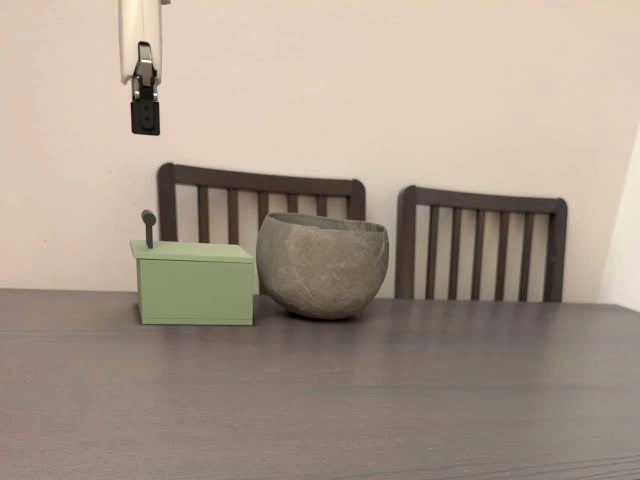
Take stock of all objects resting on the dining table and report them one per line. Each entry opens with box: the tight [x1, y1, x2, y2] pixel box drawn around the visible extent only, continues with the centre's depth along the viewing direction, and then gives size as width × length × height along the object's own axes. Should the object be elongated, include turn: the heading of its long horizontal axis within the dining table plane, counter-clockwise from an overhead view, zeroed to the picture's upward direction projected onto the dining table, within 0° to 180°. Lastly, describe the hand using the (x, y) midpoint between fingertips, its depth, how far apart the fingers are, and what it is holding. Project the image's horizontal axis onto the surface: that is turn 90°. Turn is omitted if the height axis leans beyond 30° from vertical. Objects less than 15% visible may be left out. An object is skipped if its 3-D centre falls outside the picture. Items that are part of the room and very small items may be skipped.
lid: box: [129, 209, 255, 264], centre depth 106 cm, size 16×14×6 cm
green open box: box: [135, 258, 255, 326], centre depth 109 cm, size 16×14×9 cm
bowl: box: [255, 211, 390, 320], centre depth 114 cm, size 20×20×15 cm
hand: (145, 134), depth 99 cm, fingers open, 9 cm apart
